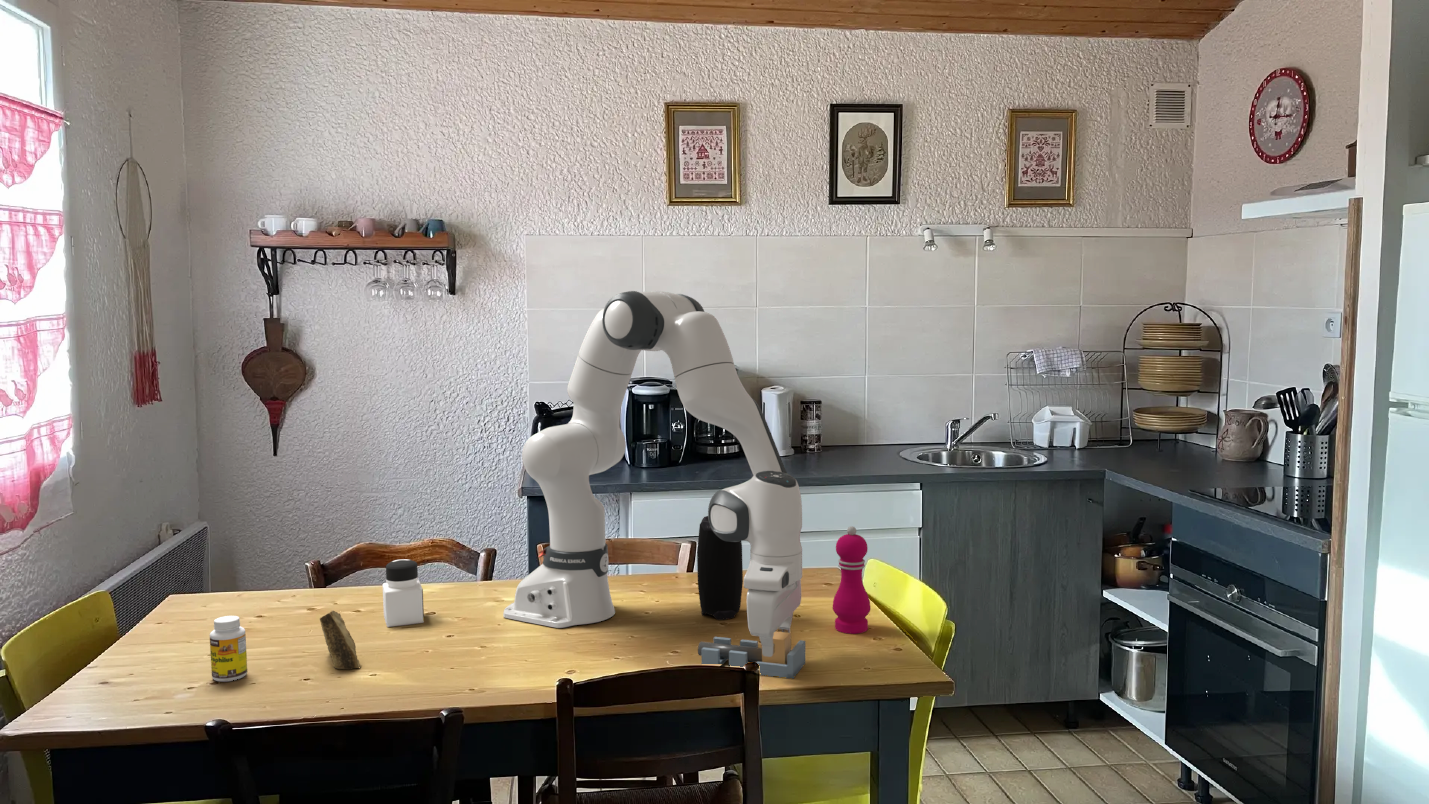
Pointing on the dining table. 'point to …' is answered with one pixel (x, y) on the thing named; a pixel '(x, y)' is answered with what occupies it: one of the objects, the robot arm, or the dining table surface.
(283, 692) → the dining table surface
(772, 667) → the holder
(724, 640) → the clip
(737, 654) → the clip
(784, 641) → the grey and tan hammer
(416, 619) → the medicine bottle
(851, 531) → the pepper mill
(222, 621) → the supplement bottle
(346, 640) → the rock
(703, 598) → the portable speaker
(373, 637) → the dining table surface
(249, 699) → the dining table surface
